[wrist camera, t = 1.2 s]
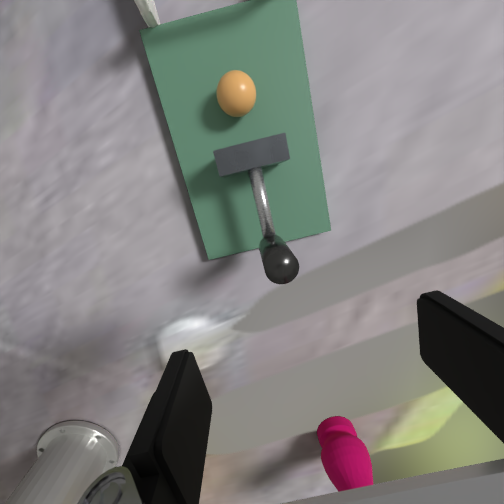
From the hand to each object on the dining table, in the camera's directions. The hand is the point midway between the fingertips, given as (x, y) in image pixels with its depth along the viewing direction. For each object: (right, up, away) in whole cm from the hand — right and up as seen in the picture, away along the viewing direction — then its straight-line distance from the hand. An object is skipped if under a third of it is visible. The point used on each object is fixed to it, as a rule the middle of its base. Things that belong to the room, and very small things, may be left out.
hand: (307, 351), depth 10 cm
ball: (-4, +20, +15) cm, 25 cm away
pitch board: (-3, +17, +19) cm, 26 cm away
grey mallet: (-1, +10, +19) cm, 22 cm away
